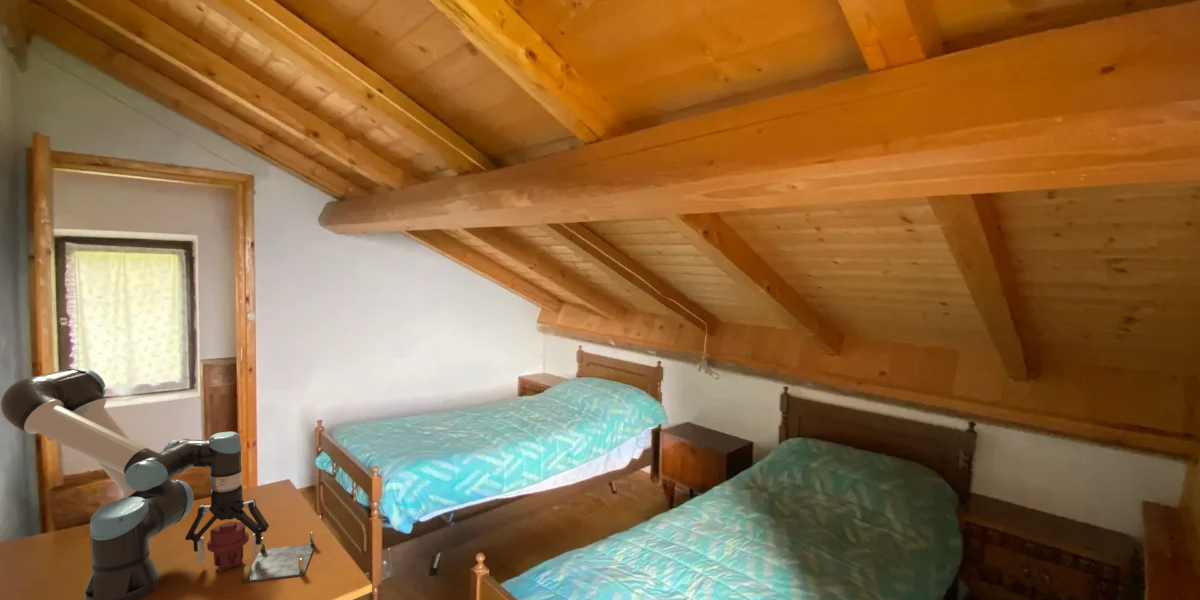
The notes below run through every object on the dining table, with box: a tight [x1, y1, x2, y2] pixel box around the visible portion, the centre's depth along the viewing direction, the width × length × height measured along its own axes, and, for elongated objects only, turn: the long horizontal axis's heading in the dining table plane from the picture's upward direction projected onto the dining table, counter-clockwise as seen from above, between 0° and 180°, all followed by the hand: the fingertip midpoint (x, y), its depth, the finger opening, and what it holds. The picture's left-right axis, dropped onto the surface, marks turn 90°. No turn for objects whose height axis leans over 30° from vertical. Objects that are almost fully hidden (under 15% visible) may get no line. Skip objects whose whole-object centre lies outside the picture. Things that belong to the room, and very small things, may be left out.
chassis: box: [243, 530, 316, 584], centre depth 165 cm, size 15×17×4 cm
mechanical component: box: [206, 521, 250, 573], centre depth 163 cm, size 12×10×10 cm
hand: (228, 558), depth 163 cm, fingers open, 13 cm apart
